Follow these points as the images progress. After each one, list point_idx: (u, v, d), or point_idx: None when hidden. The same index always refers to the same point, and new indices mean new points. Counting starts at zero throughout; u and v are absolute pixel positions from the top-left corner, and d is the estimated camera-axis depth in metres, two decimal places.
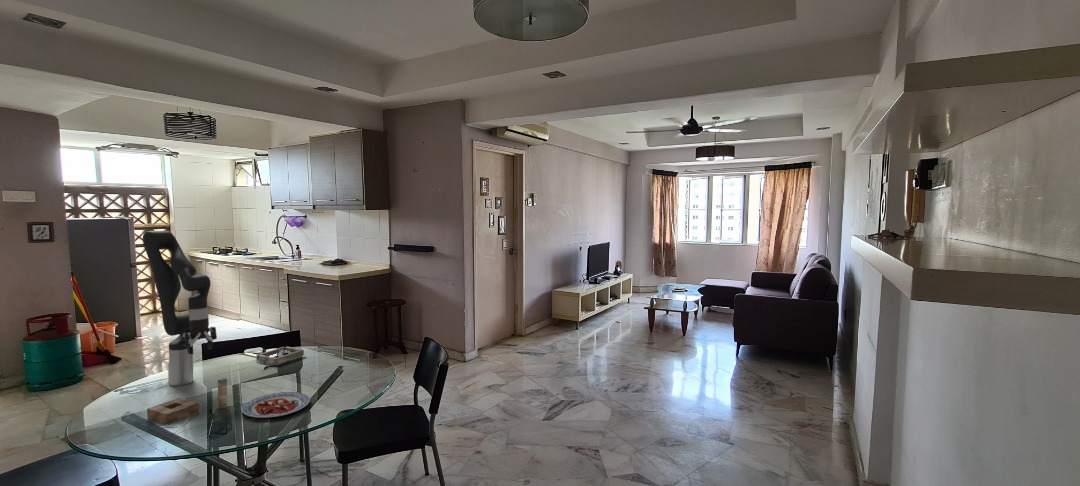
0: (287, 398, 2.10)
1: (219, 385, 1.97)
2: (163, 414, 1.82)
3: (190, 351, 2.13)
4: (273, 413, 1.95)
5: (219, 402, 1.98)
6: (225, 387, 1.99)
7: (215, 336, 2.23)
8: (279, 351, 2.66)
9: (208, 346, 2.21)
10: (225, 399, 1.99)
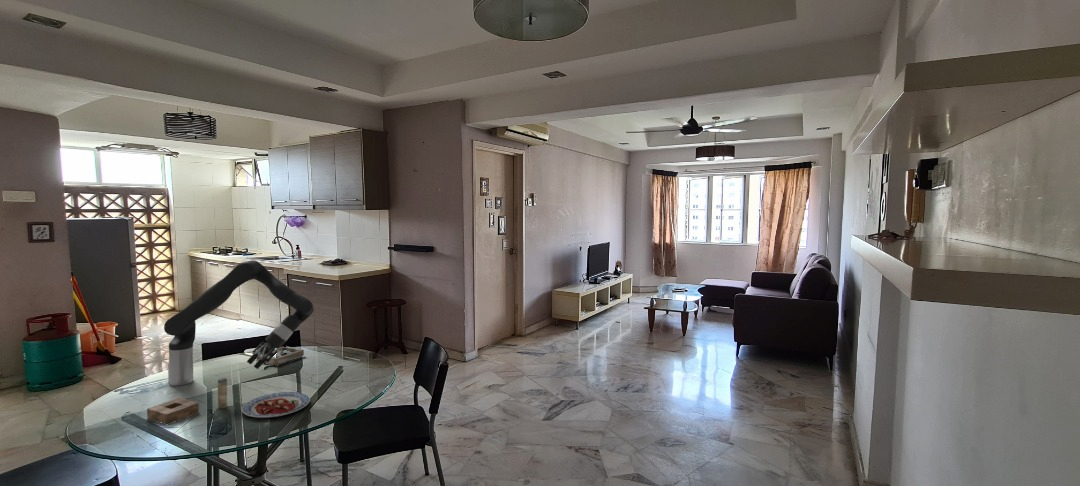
0: (287, 398, 2.10)
1: (219, 385, 1.97)
2: (163, 414, 1.82)
3: None
4: (273, 413, 1.95)
5: (219, 402, 1.98)
6: (225, 387, 1.99)
7: None
8: (277, 351, 2.65)
9: (251, 360, 2.11)
10: (225, 399, 1.99)
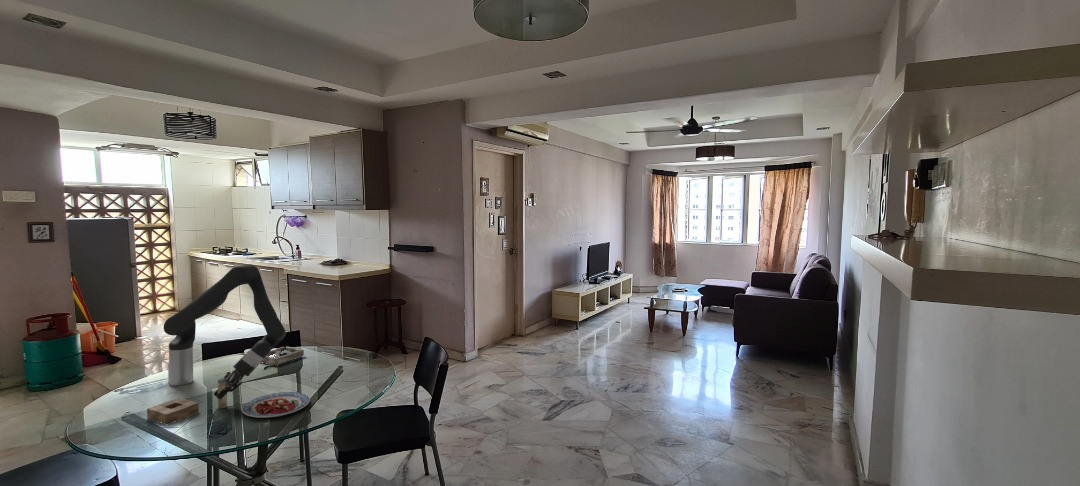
0: (287, 398, 2.10)
1: (219, 385, 1.97)
2: (163, 414, 1.82)
3: (223, 396, 1.97)
4: (273, 413, 1.95)
5: (219, 402, 1.98)
6: None
7: None
8: (275, 352, 2.64)
9: None
10: (225, 399, 1.99)
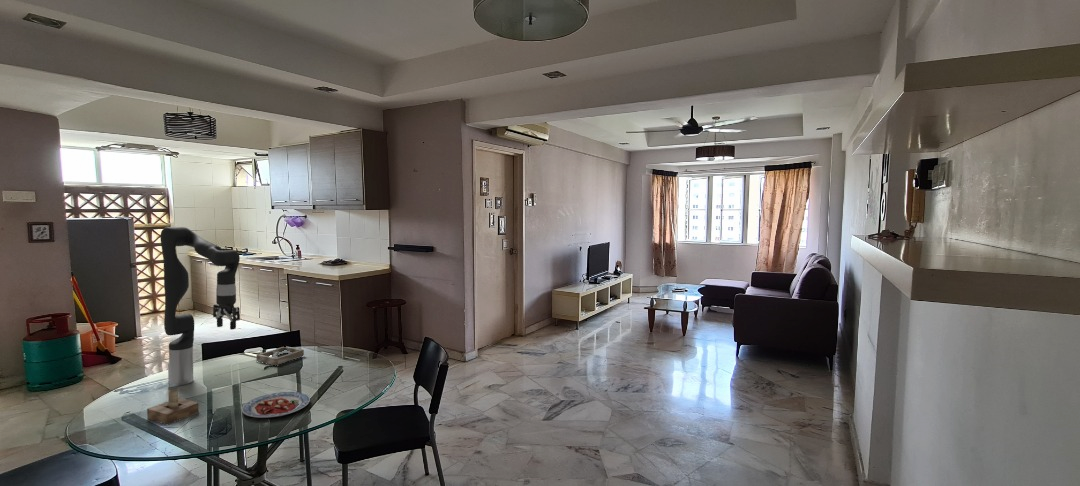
0: (287, 398, 2.10)
1: (169, 392, 1.87)
2: (163, 414, 1.82)
3: None
4: (273, 413, 1.95)
5: None
6: (176, 394, 1.89)
7: None
8: (273, 352, 2.63)
9: (220, 323, 2.15)
10: (176, 406, 1.89)
